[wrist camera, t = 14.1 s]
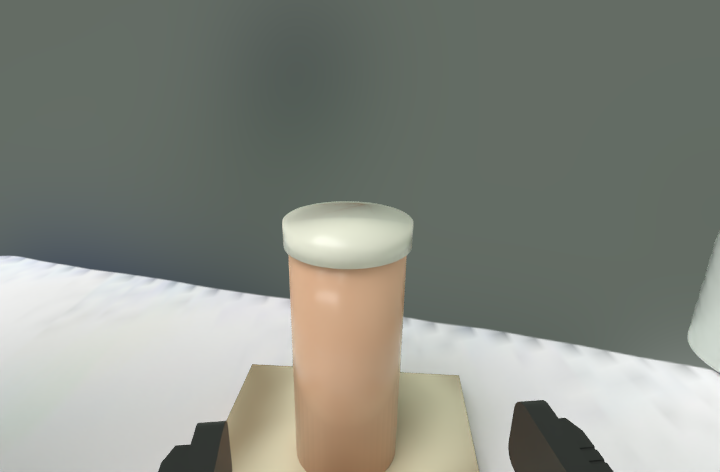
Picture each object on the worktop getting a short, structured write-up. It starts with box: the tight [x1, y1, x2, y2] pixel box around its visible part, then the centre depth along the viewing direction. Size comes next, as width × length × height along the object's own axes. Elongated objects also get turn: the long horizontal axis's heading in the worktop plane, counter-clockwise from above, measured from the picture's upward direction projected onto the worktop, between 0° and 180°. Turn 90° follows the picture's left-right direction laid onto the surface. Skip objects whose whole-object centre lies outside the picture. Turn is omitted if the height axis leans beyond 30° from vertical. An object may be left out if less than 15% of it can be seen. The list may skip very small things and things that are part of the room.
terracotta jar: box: [282, 201, 413, 472], centre depth 22 cm, size 5×5×12 cm
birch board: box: [227, 364, 479, 472], centre depth 24 cm, size 13×12×1 cm
